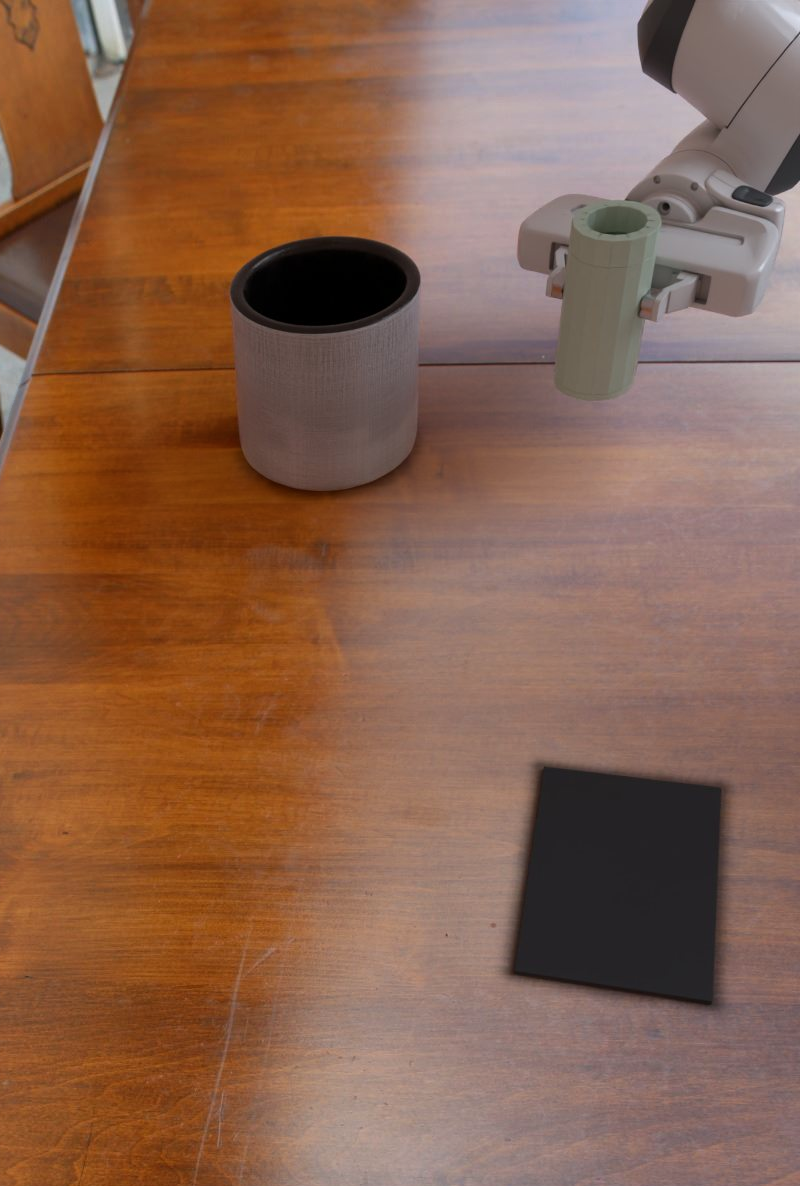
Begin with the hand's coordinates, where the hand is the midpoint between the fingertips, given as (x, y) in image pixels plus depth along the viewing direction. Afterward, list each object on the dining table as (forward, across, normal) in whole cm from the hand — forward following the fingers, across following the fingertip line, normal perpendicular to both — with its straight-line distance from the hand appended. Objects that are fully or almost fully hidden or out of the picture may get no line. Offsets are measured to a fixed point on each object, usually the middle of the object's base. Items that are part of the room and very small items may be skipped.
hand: (601, 300), depth 103 cm
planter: (+7, -21, +16) cm, 27 cm away
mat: (+39, +22, +16) cm, 48 cm away
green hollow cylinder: (-1, 0, +7) cm, 7 cm away
